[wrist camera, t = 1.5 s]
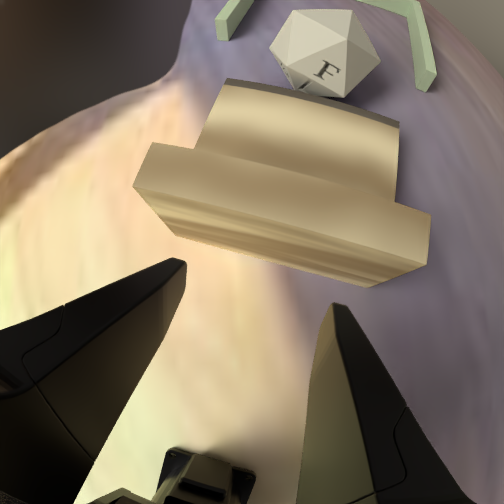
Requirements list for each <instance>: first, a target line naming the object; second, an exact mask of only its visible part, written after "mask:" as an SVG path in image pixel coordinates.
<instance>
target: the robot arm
mask: <svg viewBox="0 0 504 504" xmlns="http://www.w3.org/2000/svg"><path fill="white" fill-rule="evenodd" d="M186 273H187V263H186V262H185V261H183V260H180V259H177V258H169V259H167V260H164V261H162V262H160V263H157V264H155V265H153V266H150V267H148V268H146V269H143V270H141V271H139V272H136V273H134V274H132V275H129V276H127V277H125V278H122V279H120V280H118V281H116V282H113V283H111V284H109V285H106V286H104V287H102V288H100V289H97V290H95V291H93V292H91V293H88V294H86V295H84V296H82V297H79V298H77V299H75V300H73V301H70V302H68V303H66V304H65V306H64V305H61V306H59V307H57V308H55V309H53V310H50V311H48V312H46V313H43V314H41V315H39V316H36V317H34V318H32V319H29V320H26V321H24V322H21V323H19V324H16V325H13V326H10V327H8V328H5V329H2V330H0V504H73V503H74V501H75V499H76V497H77V495H78V493H79V491H80V489H81V487H82V486H83V484H84V482H85V480H86V478H87V476H88V474H89V472H90V470H91V468H92V466H93V465H94V462H95V461H96V459H97V457H98V455H99V453H100V451H101V449H102V448H103V446H104V444H105V442H106V440H107V438H108V436H109V435H110V433H111V431H112V429H113V427H114V426H115V424H116V422H117V420H118V418H119V416H120V415H121V413H122V411H123V409H124V408H125V406H126V404H127V402H128V400H129V399H130V397H131V395H132V393H133V392H134V390H135V388H136V386H137V385H138V383H139V381H140V379H141V378H142V376H143V374H144V372H145V371H146V369H147V367H148V365H149V364H150V362H151V360H152V358H153V357H154V355H155V353H156V352H157V350H158V348H159V346H160V345H161V343H162V341H163V339H164V337H165V335H166V333H167V331H168V328H169V326H170V324H171V321H172V319H173V317H174V314H175V312H176V310H177V308H178V305H179V303H180V301H181V299H182V296H183V294H184V291H185V287H186ZM406 406H407V403H406V402H405V400H404V398H403V397H402V395H401V393H400V391H399V390H398V388H397V386H396V385H395V383H394V381H393V379H392V378H391V376H390V374H389V373H388V371H387V369H386V368H385V366H384V364H383V363H382V361H381V359H380V358H379V356H378V354H377V353H376V351H375V349H374V348H373V346H372V345H371V343H370V341H369V340H368V338H367V337H366V335H365V333H364V332H363V330H362V328H361V327H360V325H359V324H358V322H357V321H356V319H355V317H354V316H353V314H352V313H351V311H350V310H349V308H348V307H347V306H346V305H342V304H339V303H335V302H334V303H332V304H331V305H330V306H329V309H328V311H327V313H326V315H325V317H324V319H323V322H322V324H321V326H320V330H319V334H318V340H317V346H316V351H315V356H314V361H313V366H312V371H311V377H310V383H309V394H308V406H307V417H306V427H305V437H304V446H303V455H302V463H301V471H300V479H299V486H298V493H297V500H296V504H477V503H475V502H473V501H472V500H471V499H470V498H468V497H467V496H466V495H465V494H464V492H463V491H462V490H461V489H460V487H459V486H458V484H457V483H456V481H455V480H454V478H453V477H452V475H451V474H450V472H449V471H448V469H447V468H446V466H445V465H444V463H443V462H442V460H441V459H440V457H439V456H438V454H437V453H436V451H435V450H434V448H433V447H432V445H431V444H430V442H429V441H428V439H427V438H426V436H425V434H424V433H423V431H422V429H421V428H420V426H419V424H418V422H417V421H416V419H415V417H414V416H413V414H412V412H411V410H410V409H409V407H406ZM171 453H174V454H175V455H176V457H173V456H172V455H171ZM246 476H252V478H250V479H248V478H246ZM255 481H256V474H255V473H254V472H253V471H250V470H246V469H242V468H238V467H234V466H232V465H231V464H230V463H226V462H223V461H219V460H216V459H212V458H209V457H206V456H203V455H199V454H194V455H193V454H190V453H187V452H184V451H181V450H179V449H176V448H170V449H168V451H167V452H166V454H165V458H164V462H163V466H162V470H161V474H160V478H159V482H158V486H157V490H156V494H155V495H154V497H153V498H152V500H151V501H150V500H147V499H145V498H143V497H140V496H138V495H136V494H133V493H131V491H129V490H127V489H124V488H120V489H118V490H116V491H113V492H111V493H109V494H107V495H105V496H102V497H100V498H98V499H96V500H94V501H92V502H90V503H88V504H247V501H248V499H249V496H250V494H251V491H252V489H253V486H254V483H255Z"/></svg>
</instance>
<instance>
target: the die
mask: <svg viewBox="0 0 504 504" xmlns="http://www.w3.org/2000/svg"><path fill="white" fill-rule="evenodd" d="M270 50H271V52H272V53H273V55H274V57H275V58H276V60H277V61H278V63H279V65H280V66H281V68H282V70H283V72H284V73H285V75H286V77H287V78H288V80H289V82H290V84H291V85H292V87H293V89H294V90H295V91H300V92H304V93H308V94H312V95H316V96H327V97H343V98H344V97H345V96H346V95H347V94H348V93H349V92H350V91H351V90H352V89H353V88H354V87H355V86H356V85H357V84H358V83H359V82H360V81H362V80H363V79H364V78H365V77H366V76H367V75H368V74H369V73H370V72H371V71H372V70H373V69H374V68H375V67H376V66H377V65H378V64H379V63H380V62H381V60H380V58H379V56H378V55H377V53H376V51H375V49H374V47H373V45H372V43H371V41H370V40H369V38H368V36H367V34H366V32H365V31H364V29H363V27H362V26H361V24H360V22H359V20H358V19H357V17H356V16H355V14H354V12H353V11H352V10H335V9H312V10H293V11H292V13H291V14H290V16H289V17H288V19H287V21H286V22H285V24H284V25H283V27H282V28H281V30H280V32H279V33H278V35H277V36H276V38H275V40H274V41H273V43H272V44H271V46H270Z"/></svg>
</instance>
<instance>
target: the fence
mask: <svg viewBox="0 0 504 504" xmlns="http://www.w3.org/2000/svg"><path fill="white" fill-rule="evenodd" d="M254 1H255V0H229V1H228V3H227V4H226V5H225V6H224V8H223V9H222V10H221V12H220V13H219V14H218V16H217V17H216V18H215V24H216V32H217V39H218V40H221V41H229V39H230V38H231V36H232V35H233V33H234V31H235V30H236V28H237V27H238V25H239V23H240V22H241V20H242V19H243V17H244V16H245V14H246V13H247V11H248V10H249V8H250V7H251V5H252V4H253V2H254ZM357 1H360V2H363V3H367V4H370V5H373V6H376V7H379V8H382V9H385V10H388V11H391V12H394V13H396V14H399V15H402V16H404V17H407V22H408V28H409V34H410V40H411V48H412V55H413V64H414V73H415V84H416V89H419V90H421V91H424V92H426V91H427V90H428V88H429V87H430V85H431V83H432V82H433V80H434V78H435V77H436V75H437V72H436V67H435V62H434V57H433V52H432V47H431V43H430V39H429V34H428V30H427V27H426V23H425V19H424V16H423V12H422V9H421V5H420V2H417V1H415V0H357Z"/></svg>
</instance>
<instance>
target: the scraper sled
mask: <svg viewBox="0 0 504 504" xmlns="http://www.w3.org/2000/svg"><path fill="white" fill-rule="evenodd" d="M398 148H399V121H396V120H393V119H391V118H388V117H385V116H382V115H379V114H376V113H373V112H370V111H367V110H364V109H361V108H358V107H355V106H352V105H348V104H345V103H342V102H338V101H335V100H331V99H327V98H324V97H320V96H316V95H312V94H308V93H304V92H300V91H295V90H291V89H286V88H281V87H277V86H272V85H266V84H261V83H255V82H250V81H243V80H237V79H230V78H227V79H226V81H225V83H224V85H223V87H222V89H221V91H220V93H219V95H218V97H217V99H216V101H215V104H214V106H213V108H212V110H211V112H210V114H209V116H208V119H207V121H206V123H205V125H204V127H203V130H202V132H201V134H200V136H199V139H198V141H197V143H196V145H195V148H194V149H189V148H184V147H178V146H173V145H167V144H160V143H154V142H152V144H151V146H150V148H149V150H148V152H147V155H146V157H145V159H144V161H143V163H142V165H141V168H140V170H139V172H138V174H137V176H136V179H135V181H134V183H133V188H134V189H135V190H136V191H137V192H138V193H139V195H140V196H141V197H142V198H143V199H144V200H145V202H146V203H147V204H148V205H149V206H150V207H151V208H152V210H153V211H154V212H155V213H156V214H157V215H158V216H159V218H160V219H161V220H162V221H163V222H164V223H165V224H166V225H167V227H168V228H169V229H170V230H171V231H172V232H173V233H174V234H175V236H178V237H181V238H185V239H189V240H192V241H196V242H200V243H203V244H207V245H210V246H214V247H218V248H221V249H225V250H229V251H232V252H236V253H240V254H243V255H247V256H251V257H254V258H258V259H262V260H265V261H269V262H273V263H276V264H280V265H284V266H288V267H291V268H295V269H299V270H302V271H306V272H310V273H313V274H317V275H321V276H325V277H328V278H332V279H336V280H339V281H343V282H347V283H351V284H354V285H358V286H362V287H365V288H369V287H371V286H374V285H377V284H379V283H382V282H385V281H387V280H390V279H392V278H395V277H397V276H400V275H403V274H405V273H408V272H410V271H412V270H415V269H417V268H420V267H422V266H425V265H427V256H428V247H429V237H430V224H431V215H430V214H427V213H425V212H422V211H419V210H416V209H414V208H411V207H408V206H405V205H402V204H399V203H396V202H394V201H395V191H396V180H397V166H398Z"/></svg>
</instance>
